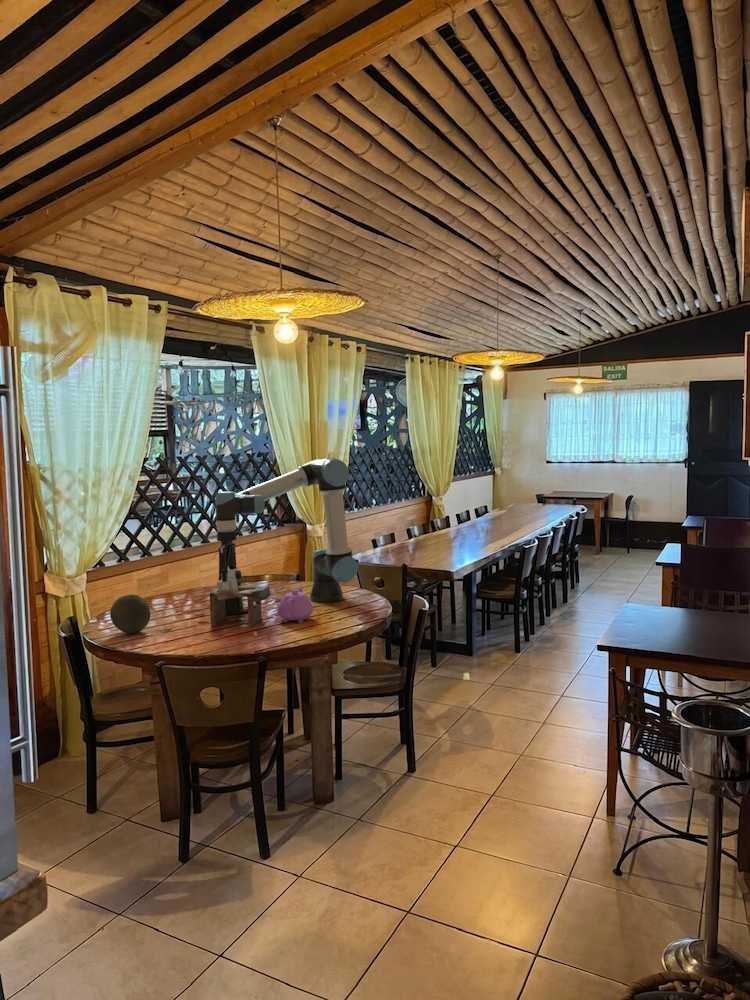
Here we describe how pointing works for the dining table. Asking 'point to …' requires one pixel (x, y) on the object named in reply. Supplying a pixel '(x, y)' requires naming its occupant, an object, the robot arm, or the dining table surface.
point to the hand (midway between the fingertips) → (228, 587)
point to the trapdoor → (255, 593)
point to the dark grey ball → (130, 614)
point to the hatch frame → (219, 605)
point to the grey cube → (232, 585)
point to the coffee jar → (234, 604)
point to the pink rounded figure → (295, 606)
